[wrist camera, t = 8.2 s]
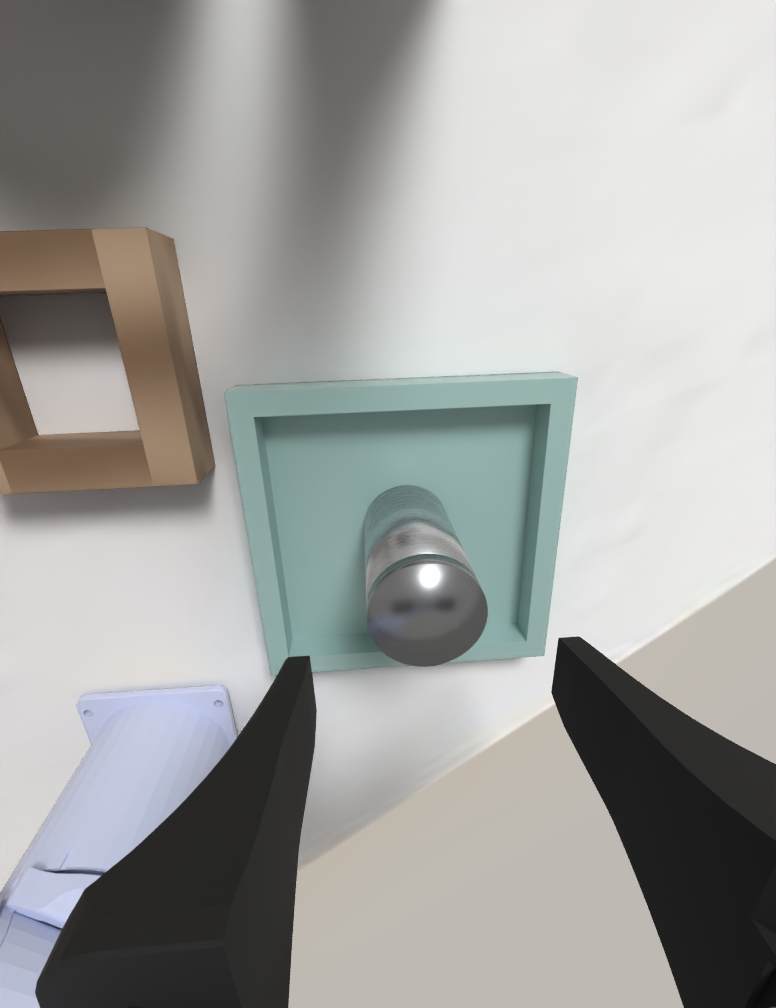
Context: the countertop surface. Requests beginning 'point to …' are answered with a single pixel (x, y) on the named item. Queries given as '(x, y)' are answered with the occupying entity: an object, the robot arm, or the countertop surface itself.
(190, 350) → the socket block
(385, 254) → the countertop surface
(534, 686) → the countertop surface
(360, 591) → the tray
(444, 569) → the steel pin
